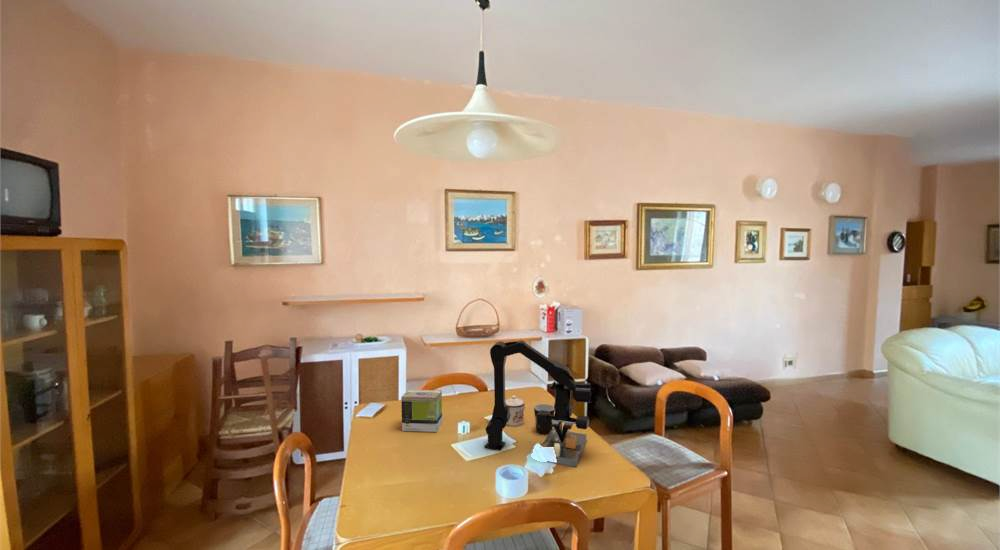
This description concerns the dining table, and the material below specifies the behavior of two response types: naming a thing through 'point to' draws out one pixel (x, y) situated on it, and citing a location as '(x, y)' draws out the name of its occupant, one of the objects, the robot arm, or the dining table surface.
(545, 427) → the coffee mug
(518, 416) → the teacup with lid
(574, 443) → the block
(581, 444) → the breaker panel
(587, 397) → the robot arm
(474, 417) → the dining table surface
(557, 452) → the cylinder
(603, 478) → the dining table surface
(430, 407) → the tea box
